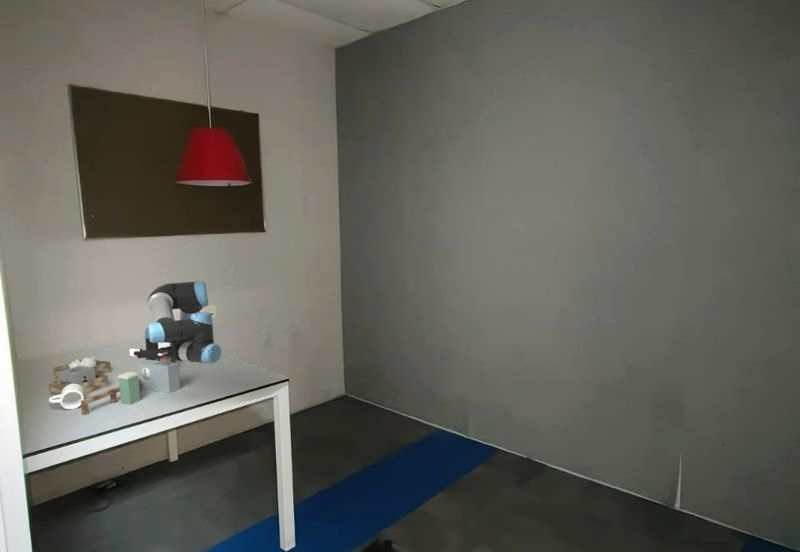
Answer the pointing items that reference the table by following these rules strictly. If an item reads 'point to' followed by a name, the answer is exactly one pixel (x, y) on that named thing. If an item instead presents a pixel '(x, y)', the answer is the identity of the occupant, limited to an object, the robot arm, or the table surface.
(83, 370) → the icon cube
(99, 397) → the handrail
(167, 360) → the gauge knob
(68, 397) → the mug
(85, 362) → the cat figurine
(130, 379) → the green rectangular block
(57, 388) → the corral
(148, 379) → the end cabinet
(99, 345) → the table surface
